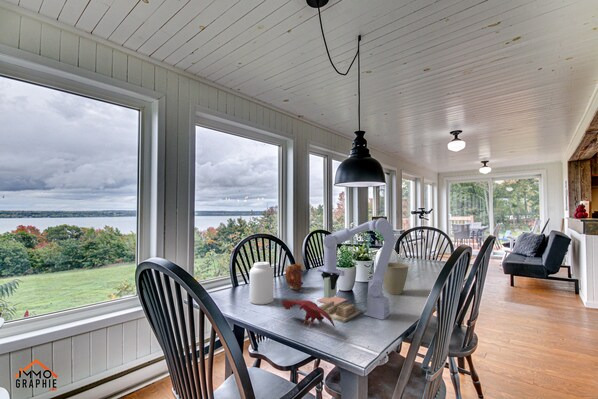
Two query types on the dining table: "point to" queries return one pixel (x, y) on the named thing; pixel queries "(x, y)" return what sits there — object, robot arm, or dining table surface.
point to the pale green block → (329, 288)
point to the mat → (335, 299)
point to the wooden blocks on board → (332, 309)
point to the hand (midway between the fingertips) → (330, 288)
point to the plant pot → (395, 277)
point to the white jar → (261, 283)
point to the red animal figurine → (308, 310)
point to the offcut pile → (345, 310)
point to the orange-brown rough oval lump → (294, 276)
